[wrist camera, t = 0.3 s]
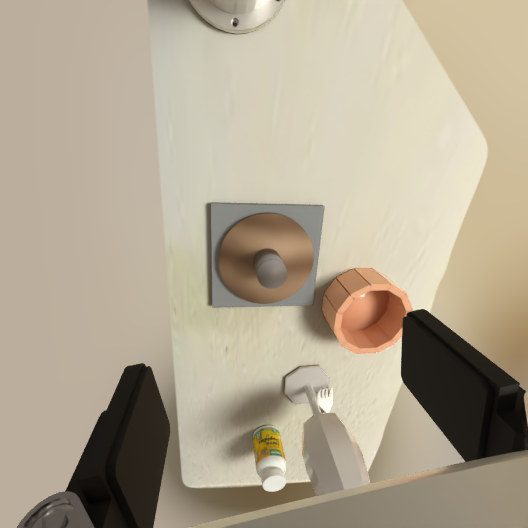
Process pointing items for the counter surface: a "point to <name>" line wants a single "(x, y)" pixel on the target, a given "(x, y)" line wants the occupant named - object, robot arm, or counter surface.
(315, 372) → the wineglass
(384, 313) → the bowl
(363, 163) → the counter surface
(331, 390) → the fork
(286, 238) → the lid
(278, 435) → the supplement bottle
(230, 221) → the mat
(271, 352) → the counter surface
